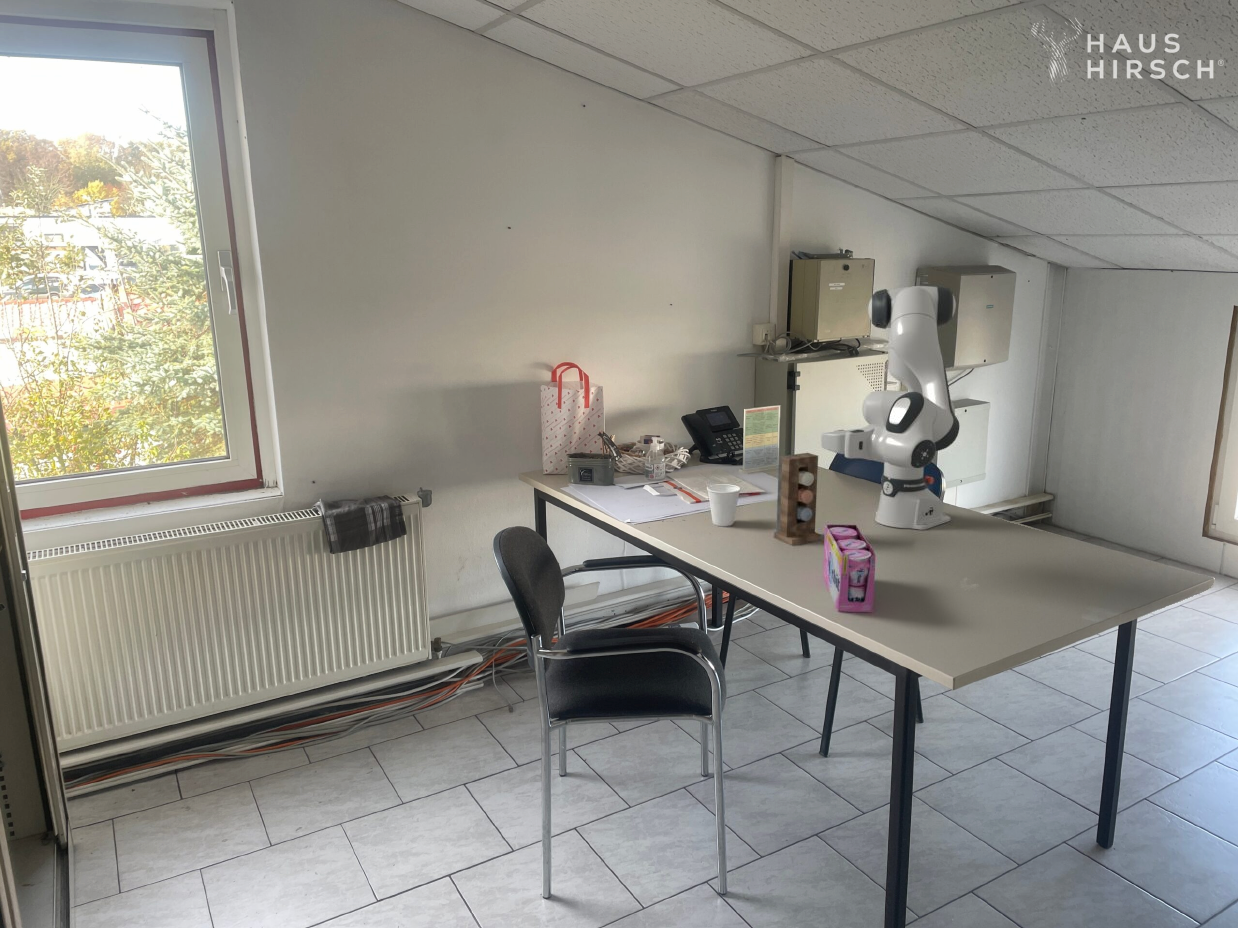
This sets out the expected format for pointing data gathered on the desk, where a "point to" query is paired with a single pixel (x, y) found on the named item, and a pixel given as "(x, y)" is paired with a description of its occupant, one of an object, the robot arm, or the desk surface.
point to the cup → (723, 503)
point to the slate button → (804, 513)
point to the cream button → (805, 478)
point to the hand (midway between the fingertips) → (837, 433)
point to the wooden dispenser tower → (795, 499)
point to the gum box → (849, 568)
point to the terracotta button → (804, 496)
